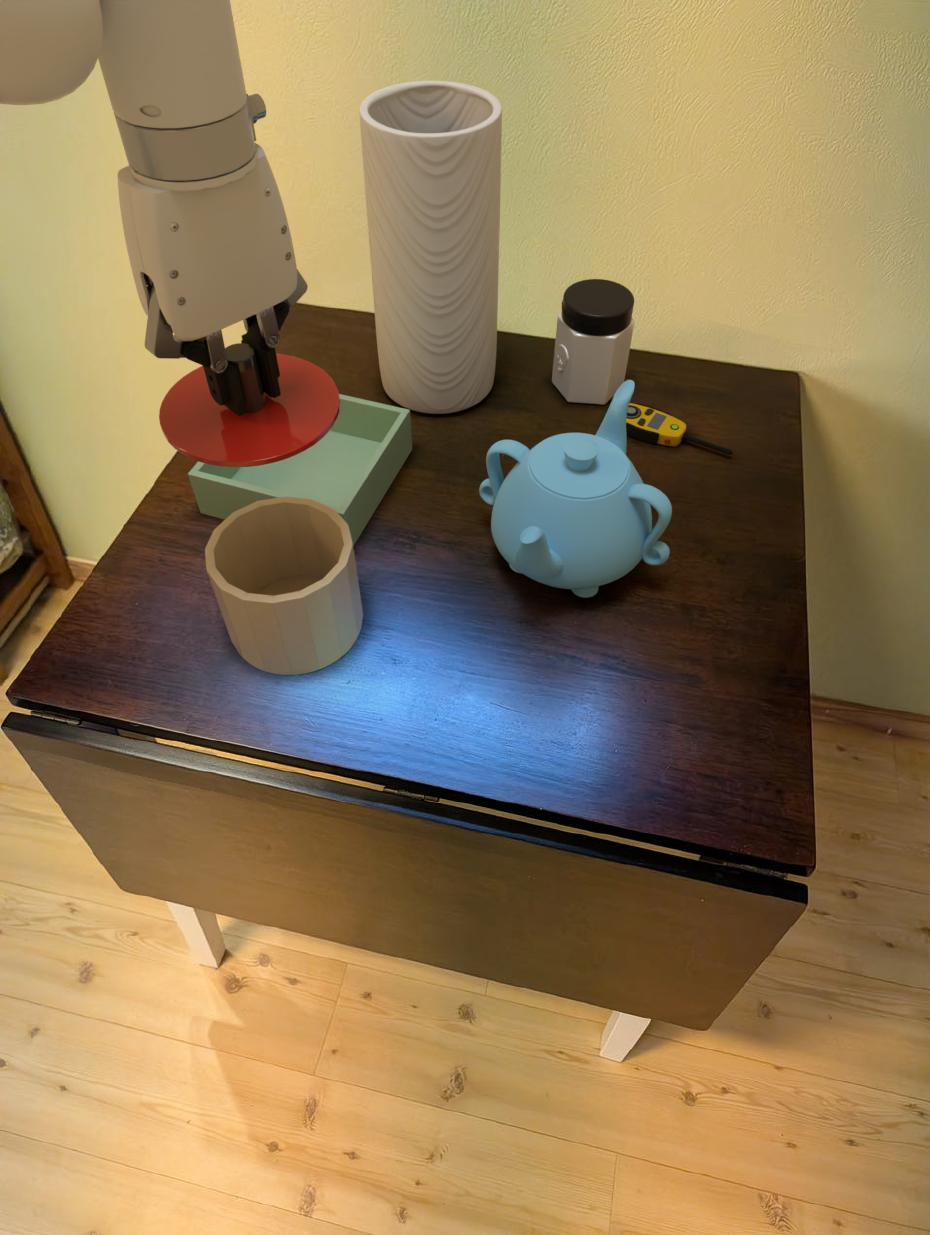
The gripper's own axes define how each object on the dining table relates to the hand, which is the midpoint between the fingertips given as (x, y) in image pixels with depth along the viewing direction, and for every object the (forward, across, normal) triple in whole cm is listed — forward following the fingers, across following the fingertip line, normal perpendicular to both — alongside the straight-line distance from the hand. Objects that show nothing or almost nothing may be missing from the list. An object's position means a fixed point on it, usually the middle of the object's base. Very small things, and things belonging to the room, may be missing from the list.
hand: (248, 396), depth 64 cm
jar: (+24, -48, -4) cm, 54 cm away
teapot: (+25, -24, +14) cm, 37 cm away
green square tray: (+24, -12, -14) cm, 30 cm away
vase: (+25, -35, -17) cm, 46 cm away
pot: (+25, +1, +2) cm, 25 cm away
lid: (+1, 0, 0) cm, 1 cm away
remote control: (+24, -47, +10) cm, 54 cm away
